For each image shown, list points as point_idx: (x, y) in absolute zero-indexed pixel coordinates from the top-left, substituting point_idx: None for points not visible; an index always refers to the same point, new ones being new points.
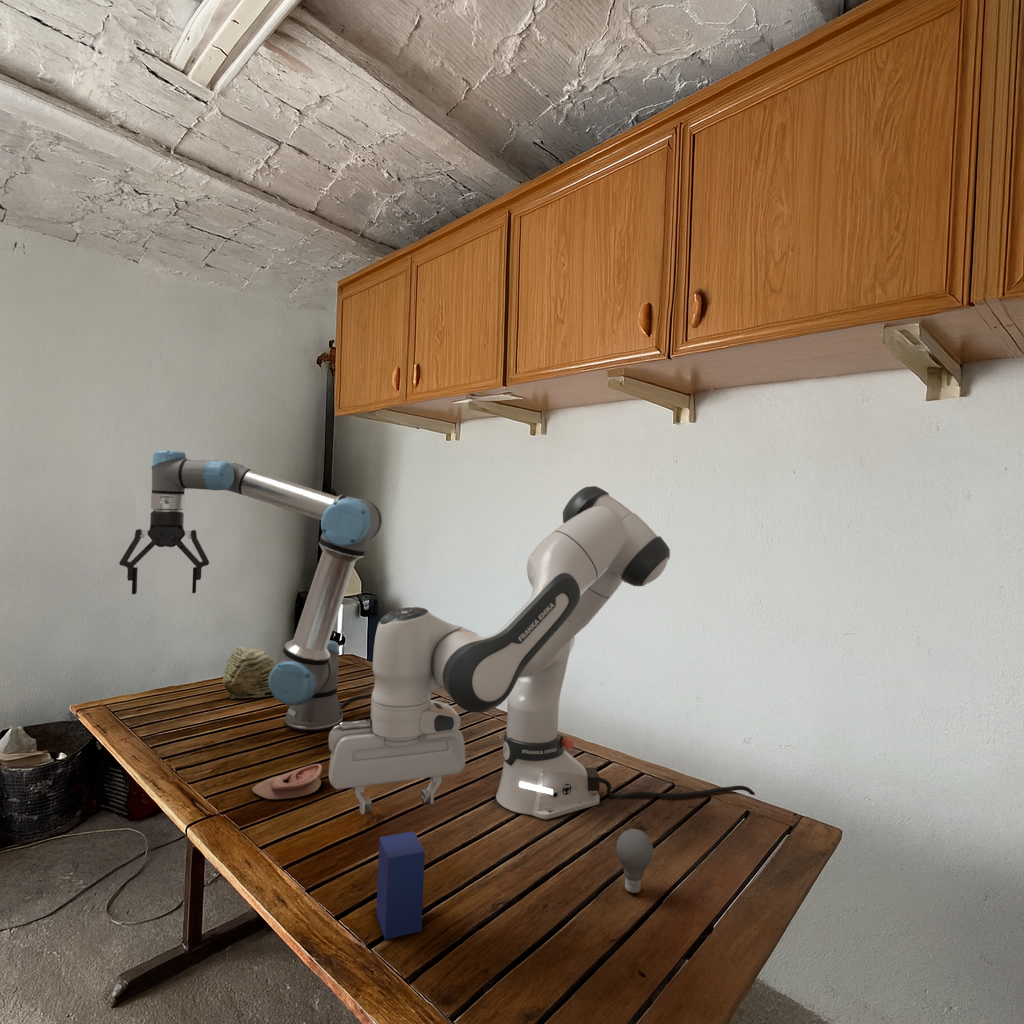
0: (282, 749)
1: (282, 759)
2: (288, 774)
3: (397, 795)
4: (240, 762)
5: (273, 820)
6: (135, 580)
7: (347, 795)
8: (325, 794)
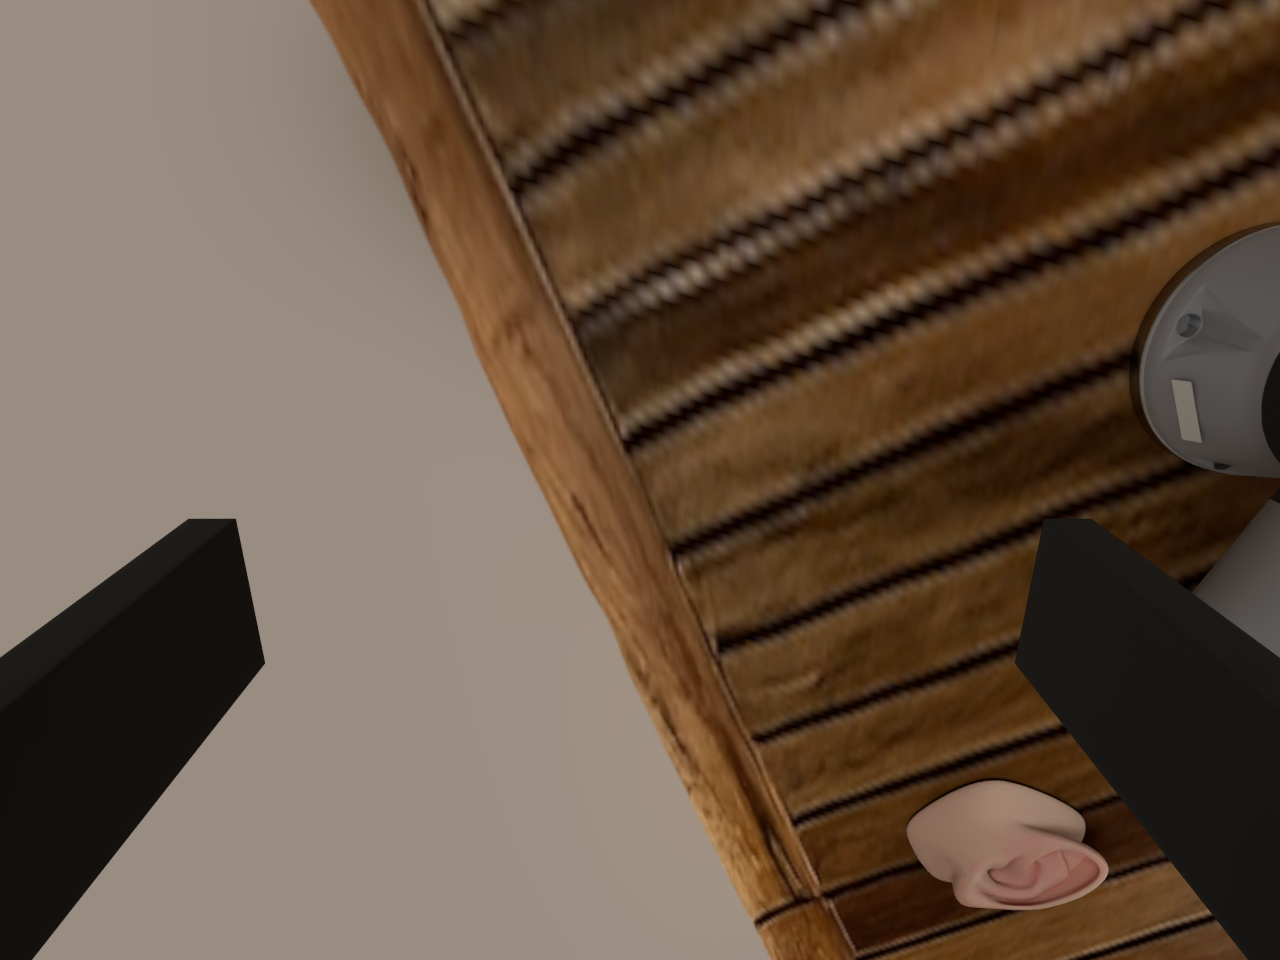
0: None
1: None
2: (1011, 858)
3: None
4: (903, 648)
5: (926, 949)
6: (139, 815)
7: (1117, 898)
8: None
